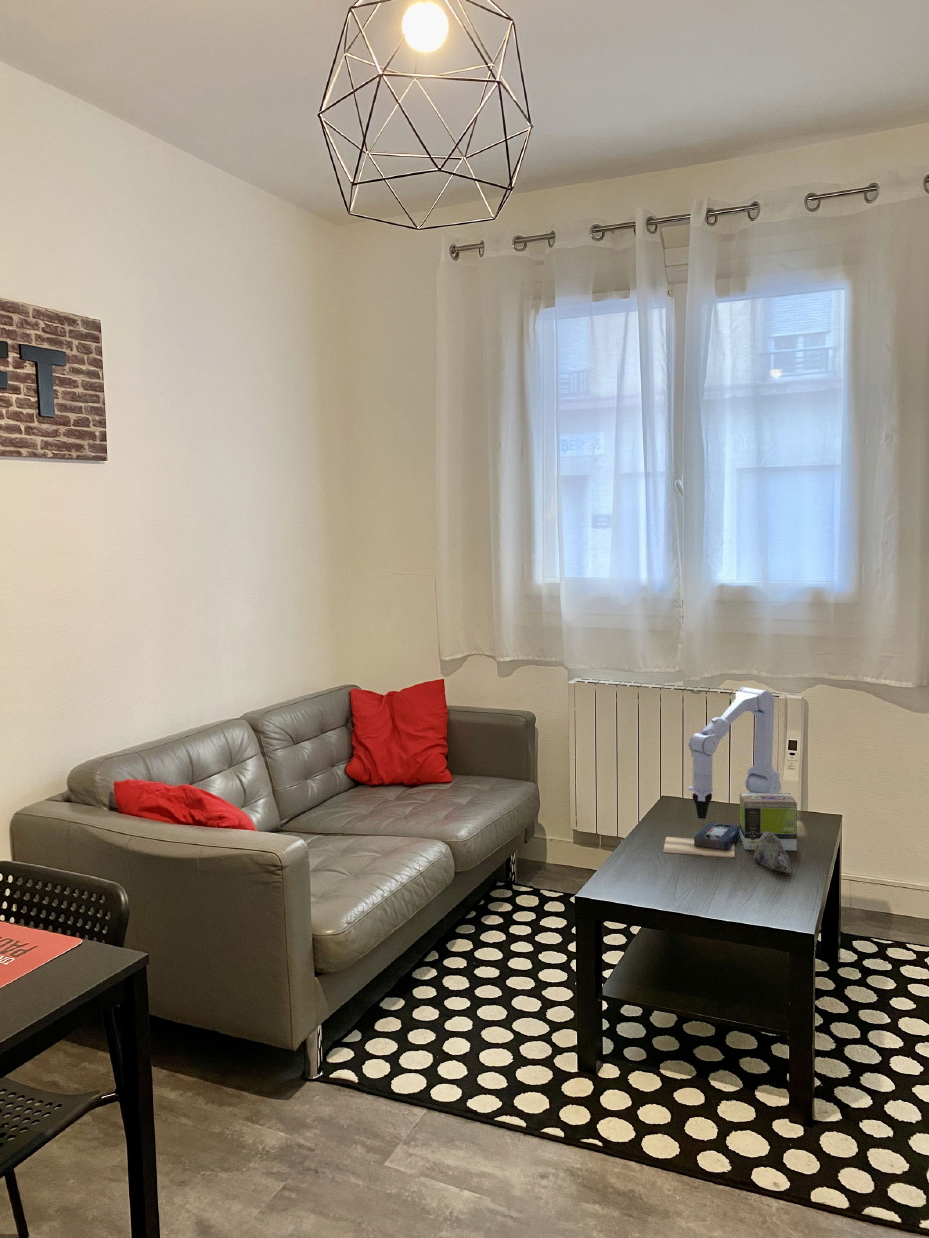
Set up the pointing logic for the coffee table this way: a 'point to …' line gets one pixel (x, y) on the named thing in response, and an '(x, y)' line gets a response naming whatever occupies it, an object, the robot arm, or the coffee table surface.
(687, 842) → the wooden board
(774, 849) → the mineral rock
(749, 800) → the tea box
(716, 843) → the vhs cassette tape
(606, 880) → the coffee table surface
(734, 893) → the coffee table surface
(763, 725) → the robot arm
